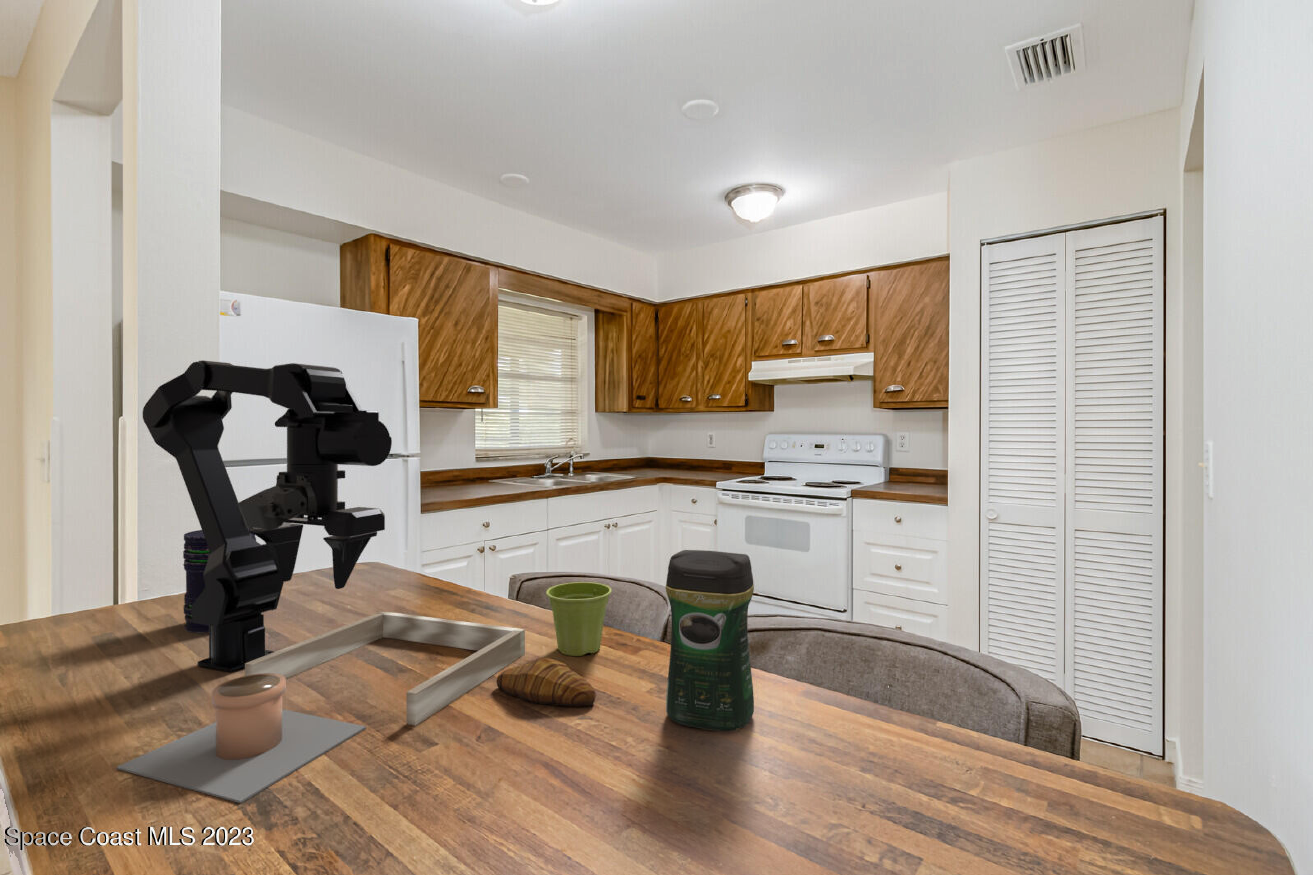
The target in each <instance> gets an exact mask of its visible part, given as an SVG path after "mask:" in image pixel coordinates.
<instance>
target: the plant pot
mask: <svg viewBox="0 0 1313 875" xmlns="http://www.w3.org/2000/svg"><path fill="white" fill-rule="evenodd" d="M612 589H613V588H611V587H610V586H609V585H607V584H604V583H600V582H590V581H589V582H587V581H579V582H578V581H577V582H567V583H561V584H557V585H554V586H551V587H549V588H548V589H547V590H546V592H545V593H546V597H547V598H548V600H549V605H550V607H551V611H552V616H553V622H554V630H555V637H556V644H557V650H558V651H560V652H561V653H562V654H563V655H565V656H570V657H571V656H573V657H582V656H584V655H586V654H589V653H590V654H595V653H597V652H599V651H600V649H601V643H602V637H603V628H604V621H605V615H606V607H607V604H608V602H609V597H610V596H611V594H612Z"/></svg>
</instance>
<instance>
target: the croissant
mask: <svg viewBox="0 0 1313 875" xmlns="http://www.w3.org/2000/svg"><path fill="white" fill-rule="evenodd" d="M496 678H497V679H496V686H497V687H498V688H499V689H500V690H501V691H502V692H504V693H506V694H508V695H510V696H512V697H517V698H520V699H522V700H524V701H527V702H530V703H533V704H541V705H553V706H559V707H572V708H573V707H574V708H575V707H576V708H580V707H581V708H582V707H589V706H592V705H594V703H595V701H596V698H597V694H596V690H595V688H594V687H593V686H592V685H591V683H590V682H589V681H588V680H587V679H585V678H584V677H583V676H581V675H580V674H578V673H577V672H576V671H573V670H571V669H570V668H569V666H567V664H566V663H564V662H561V661H559V660H556V659H552V658H549V657H548V658H547V657H542V658H540V659H536V660H532V661H530V662H529V663H527V664H521V665H517V666H514V667H513V666H512V667H511V668H507V669H506V670H504V671H501V672H500V673H499V674H498V675H497V676H496Z"/></svg>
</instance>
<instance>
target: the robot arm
mask: <svg viewBox="0 0 1313 875" xmlns="http://www.w3.org/2000/svg"><path fill="white" fill-rule="evenodd" d="M201 391H214V394H213V395H212V396H211V397H210V396H207V395H198V394H199V393H200V392H201ZM233 393H236V394H243V395H244V394H245V395H251V396H252V395H253V396H258V397H259V396H260V397H265V398H267V399H269V400H270V402H271V403H273V404H275V405H277V406H280V407H282V408H285V409H287V410H286V411H285V413H284V414H283V415H282V416H280V417H278V418H277V419H276V420H275V422H274V426H275V427H276V428H286V471H278V474H277V475H276V483H275V485H274V486H271V487H270V488H265V489H263V490H261V491H259V492H258V493H255V494H253V495H251V496H249V497H246V498H244V499H243V500H241V501H239V500H238V498H237V495H236V492H235V490H234V487H233V485H232V482H231V479H230V477H229V473H228V470H227V469H226V466H225V463H224V461H223V457H222V455H221V452H220V450H219V444H220V440H221V439H222V436H223V434H224V433H223V432H224V430H225V426H224V422H223V419H225V417H226V416H227V415H228V414H229V412H230V411H231V410H232V408H233V406H232V404H233V403H232V394H233ZM355 397H356V396H355V395H354V394H353V392H352V390H351V388H350V386H349V385H348V384H347V381H346V380H345V377H344V375H343V372H342V370H341V369H339V368H337V367H334V366H332V367H331V366H325V365H323V366H322V365H313V364H304V363H295V362H294V363H284V364H278V365H277V364H276V365H273V367H271V368H262V367H254V366H253V367H252V366H245V365H244V366H242V365H237V364H235V365H234V364H232V363H230V362H225V361H212V360H198V361H194V362H192V363H191V364H190V365H189V366H188V367H187V369H185V371H184V373H182V374H180V375H178V376H176V377H174V378H172V379H170V380H168V381H167V382H165V383H163V384H161V385H159V387H157V389H156V390H155V391H154V392H153V393H152V395H151V396H150V397H149V399H148V400H147V402H146V403H145V405H144V406H143V408H142V413H141V414H142V420H143V423H144V424H145V425H146V428H147V430H148V431H149V434H150V435H151V437H152V439H153V442H154V443H155V444H156V445H158V446H159V447H160V448H161V449H163V450H164V451H165V452H167V453H168V454H169V455H170V456H172V457H173V458H174V459H175V461H176V462H177V465H178V468H179V471H180V473H181V475H182V478H183V481H184V484H185V487H186V489H187V490H186V491H187V492H188V495H189V498H190V500H191V504H192V505H193V506H192V507H193V508H194V511H195V514H196V517H197V519H198V522H199V526H200V528H201V530H202V531H203V534H204V537H205V539H206V542H207V545H208V548H209V551H210V556H209V559H208V562H207V565H206V568H205V571H204V574H203V578H204V582H205V586H206V587H205V589H204V590H203V591H202V593H201V594H200V595H199V597H198V598H197V599H196V601H195V602H194V603H193V604H192V606H191V607H190V610H191V614H192V618H193V622H194V623H197V624H203V625H208V626H209V633H208V657H207V658H205V659H200V660H198V661H197V667H204V668H209V669H214V670H219V671H225V672H233V671H237V670H239V669H241V668H245V663H248V662H250V661H253V660H255V659H258V658H261V657H263V656H266V655H269V654H271V653H274V652H275V651H274V650H268V649H266V627H265V615H264V614H263V613H266V612H269V611H275V610H277V608H278V606H279V602H280V598H281V595H282V590H283V586H284V583H286V582H290V581H291V580H292V577H293V574H294V572H295V571H294V570H295V566H296V562H297V558H298V553H299V548H300V543H301V538H302V535H303V534H302V532H303V529H304V525H309V526H310V525H311V526H318V527H319V526H320V527H323V528H324V531H325V532H326V533H327V534H328V536H326V537H323V538H322V539H323V540H324V542H325V543H326V544H327V545H328V546H329V547H330V548H331V552H332V553H331V554H332V569H333V570H332V575H333V583H334V588H335V589H336V590H341V589H344V587H346V585H347V583H348V581H349V579H350V576H351V575H352V572H353V570H354V569H355V566H356V564H357V563H358V561H359V558H360V557H361V554H362V553H363V551H364V550H365V548H366V547H367V545H368V544H369V542H370V540H371V539H372V538H374V537H377V536H378V532H381V531H385V530H386V529H385V528H386V527H385V526H386V519H385V517H386V515H385V513H384V512H383V511H382V510H381V508H378V507H377V508H376V507H366V506H365V507H362V506H357V507H350V508H346V501H339V500H338V498H339V490H338V488H339V486H338V484H339V480H341V479H346V470H343V469H342V470H339V465H343V466H361V467H362V466H363V467H364V466H365V467H366V466H368V467H376V466H379V465H381V464H382V463H384V462H385V461H386V460H387V458H388V457H389V456H390V452H391V450H392V446H393V444H392V442H393V441H392V436H390V435H391V434H390V432H389V429H388V428H387V426H386V425H385V424H384V423H383V422H382V421H380V419H379V418H380V413H379V411H378V410H362V407H361V405H360V404H359V402H358V401H357V399H356V398H355ZM248 528H249V529H248ZM252 528H254V529H252ZM250 533H251V534H254V535H255V537H257V538H259V539H260V540H262V541H263V542H264V543H263V544H261V543H259V542H258V541H257V540H256V541H255V540H254V539H253V538H252V536H251V534H250Z"/></svg>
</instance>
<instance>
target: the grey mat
mask: <svg viewBox="0 0 1313 875" xmlns="http://www.w3.org/2000/svg"><path fill="white" fill-rule="evenodd" d="M366 729H367V726H365V725H361V724H357V723H352V722H346V721H342V720H337V719H332V718H327V717H326V718H325V717H321V716H317V715H313V714H312V715H311V714H309V713H308V714H307V713H303V712H297V711H292V710H288V709H284V708H282V741H281V742H280V743H279V744H278V745H277V746H276V747H274V748H273V749H271V750H269V751H267V752H265V753H262V754H259V755H256V756H253V757H249V758H244V759H236V760H227V759H222V758H219V757H217V756H216V721H215V722H213V723H211V724H208V725H207V726H204V727H201V728H199V729H197V730H195V731H193V732H190V733H188V734H187V735H184V736H182V737H180V738H178V739H174V740H173V741H171V742H169V743H166V744H164V745H162V746H160V747H157V748H156V749H153V750H151V751H148V752H147V753H144V754H142V755H140V756H137V757H135V758H134V759H131V760H129V761H126V762H124V763H122V764H120V765H117V767H116V770H118V771H124V772H126V773H129V774H130V773H131V774H135V775H137V776H141V777H144V778H147V779H153V780H156V781H159V782H162V783H166V784H169V785H172V786H177V787H181V788H184V789H188V790H191V791H196V792H199V793H203V794H206V795H209V796H213V797H217V798H220V799H224V800H228V801H231V802H235V803H238V804H242V803H244V802H246V801H248V800H249V799H251V798H252V797H254V796H255V795H257V794H259V793H261V792H262V791H264V790H266V789H267V788H269V787H270V786H273V785H274V784H276V783H277V782H279V781H280V780H282V779H284V778H285V777H288V776H289V775H290V774H292V773H294V772H296V771H297V770H299V769H300V768H302V767H304V766H306V765H307V764H309V763H310V762H312V761H314V760H316V759H317V758H319V757H321V756H322V755H324V754H325V753H328V752H329V751H331V750H333V749H334V748H335V747H337V746H339V745H341V744H343V743H344V742H346V741H347V740H349V739H351V738H352V737H354V736H356V735H358V734H359V733H360V732H361V733H362V731H364V730H366Z"/></svg>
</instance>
